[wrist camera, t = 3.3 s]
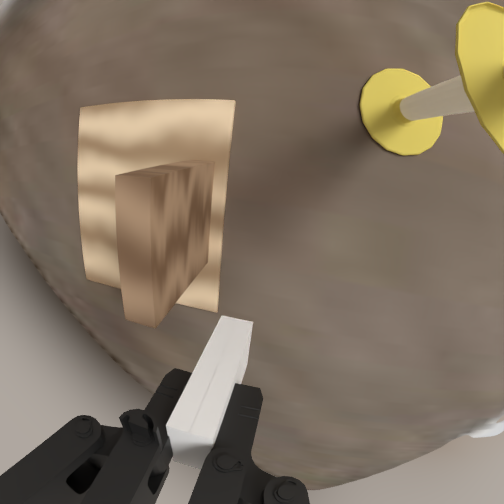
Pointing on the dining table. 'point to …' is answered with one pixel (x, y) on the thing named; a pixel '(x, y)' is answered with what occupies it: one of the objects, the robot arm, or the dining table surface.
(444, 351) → the dining table surface
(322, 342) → the dining table surface
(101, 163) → the light wooden board
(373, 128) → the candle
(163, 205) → the panel
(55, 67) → the dining table surface
